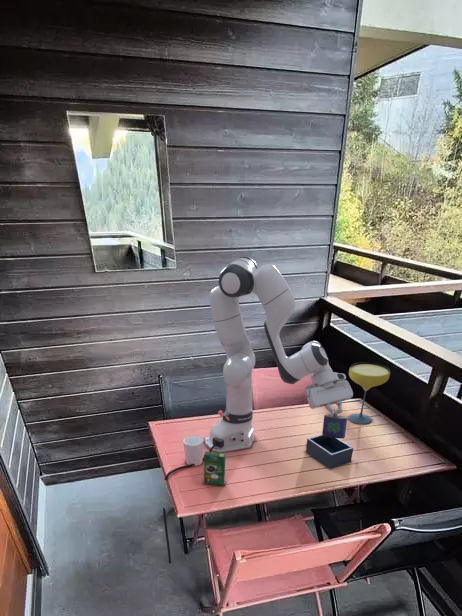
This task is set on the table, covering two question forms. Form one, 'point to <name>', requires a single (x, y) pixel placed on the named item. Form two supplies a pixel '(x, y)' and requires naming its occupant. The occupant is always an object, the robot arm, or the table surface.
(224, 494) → the table surface
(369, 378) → the cocktail glass
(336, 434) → the flask
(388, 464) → the table surface
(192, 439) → the white cup
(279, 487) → the table surface
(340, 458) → the tub
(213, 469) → the coffee box
